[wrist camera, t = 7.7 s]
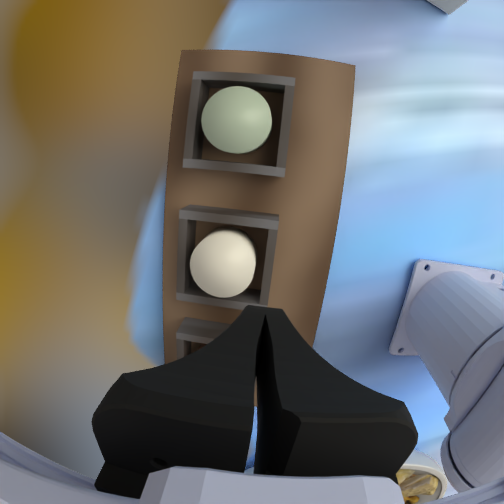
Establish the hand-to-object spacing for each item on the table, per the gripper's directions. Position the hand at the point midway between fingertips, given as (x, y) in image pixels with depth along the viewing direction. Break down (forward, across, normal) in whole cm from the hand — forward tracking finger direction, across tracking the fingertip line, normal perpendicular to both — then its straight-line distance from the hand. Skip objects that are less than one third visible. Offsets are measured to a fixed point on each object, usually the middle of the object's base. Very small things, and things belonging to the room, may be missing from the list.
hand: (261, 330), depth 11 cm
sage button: (+9, +2, -8) cm, 12 cm away
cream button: (+9, +2, 0) cm, 9 cm away
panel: (+10, +1, 0) cm, 10 cm away
